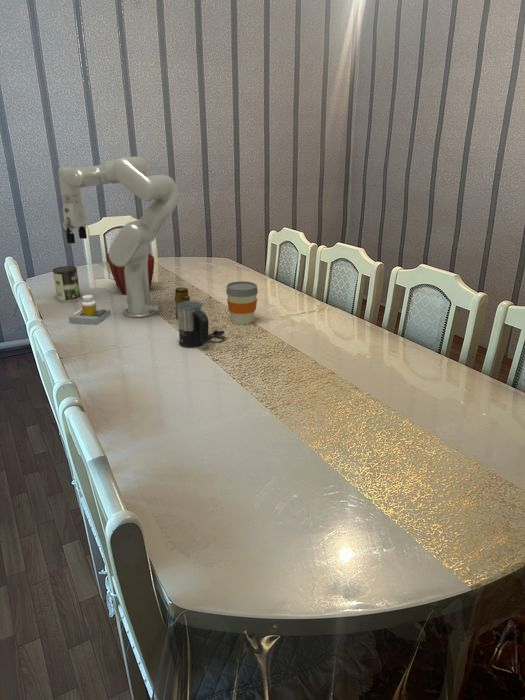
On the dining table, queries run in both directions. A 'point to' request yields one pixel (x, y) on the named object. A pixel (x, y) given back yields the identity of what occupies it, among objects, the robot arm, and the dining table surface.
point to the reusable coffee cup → (242, 301)
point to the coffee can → (66, 283)
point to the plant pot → (120, 278)
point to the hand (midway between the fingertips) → (77, 240)
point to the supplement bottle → (88, 306)
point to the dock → (90, 317)
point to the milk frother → (193, 324)
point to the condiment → (180, 297)
